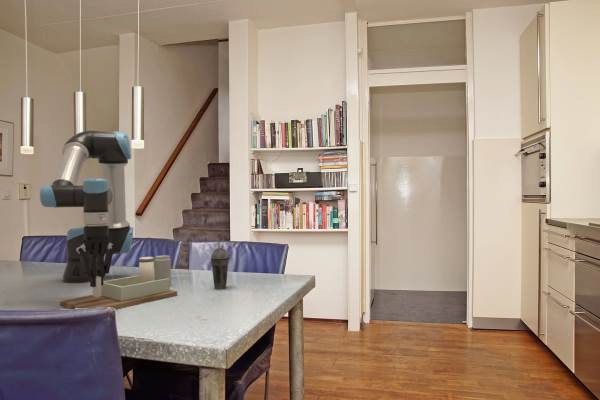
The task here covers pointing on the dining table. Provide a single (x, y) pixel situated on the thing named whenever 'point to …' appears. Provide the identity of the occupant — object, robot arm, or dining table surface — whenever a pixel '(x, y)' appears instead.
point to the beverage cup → (220, 267)
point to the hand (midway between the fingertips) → (96, 296)
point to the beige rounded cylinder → (146, 269)
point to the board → (112, 301)
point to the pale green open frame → (132, 288)
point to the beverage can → (162, 268)
